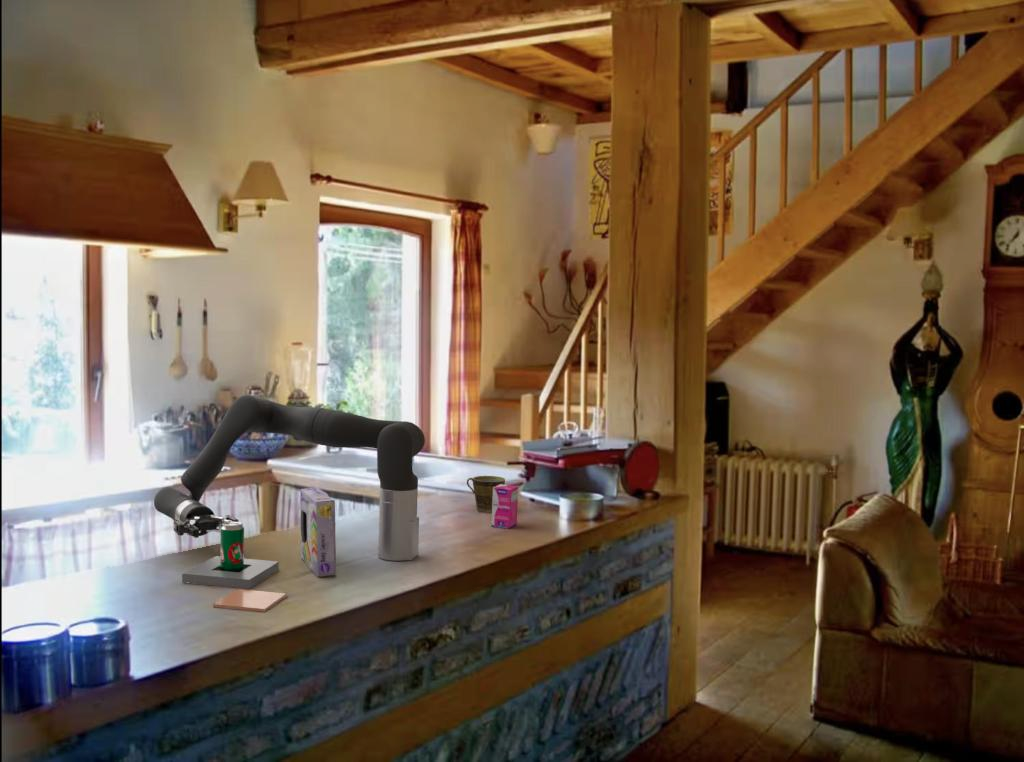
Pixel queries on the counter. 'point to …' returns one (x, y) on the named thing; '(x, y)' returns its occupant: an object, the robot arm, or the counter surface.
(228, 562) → the soda can
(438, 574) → the counter surface
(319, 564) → the cake pan box
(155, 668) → the counter surface
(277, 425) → the robot arm
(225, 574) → the frame
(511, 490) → the supplement box
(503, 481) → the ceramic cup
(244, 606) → the terracotta tile
